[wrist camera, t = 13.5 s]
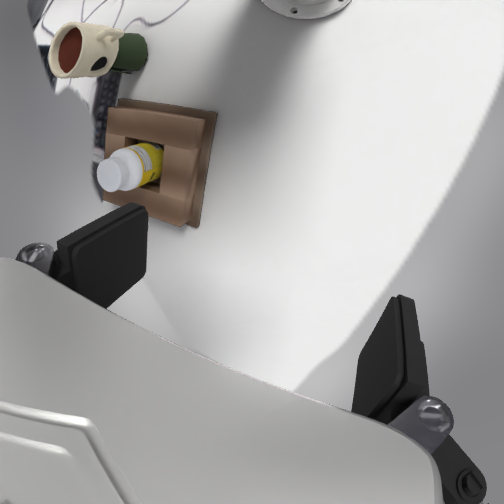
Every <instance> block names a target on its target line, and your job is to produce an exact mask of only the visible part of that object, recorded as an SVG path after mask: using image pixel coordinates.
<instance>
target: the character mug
mask: <svg viewBox="0 0 504 504" xmlns="http://www.w3.org/2000/svg"><path fill="white" fill-rule="evenodd" d="M147 55H148V50H147V44H146V42H145V39H144V37H142V36H141V35H139V34H134V33H125V32H124V31H123V30H120V29H114V28H111V27H109V26H103V25H96V24H88V23H79V22H69V23H67V24H65V25H63V26H62V27H61V28H60V29H59V30H58V32H57V33H56V34H55V36H54V38H53V40H52V42H51V46H50V50H49V66H50V69H51V71H52V73H53V74H54V75H55V76H56V77H58V78H78V77H97V76H101V75H104V74H105V73H107V72H108V71H113V72H119V73H126V74H131V73H128V72H122V71H127V70H133V71H138V70H139V69H140V68H141V67H142V66H143V64H144V63H145V61H146V58H147Z"/></svg>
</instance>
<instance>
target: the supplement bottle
mask: <svg viewBox="0 0 504 504" xmlns="http://www.w3.org/2000/svg"><path fill="white" fill-rule="evenodd" d="M163 154H164V146H163V145H162V144H159V143H154V142H150V141H148V142H144V143H140V144H136V145H132V146H129V147H125V148H121V149H119V150H116V151H115V152H113V153H112V155H111V156H110V157H109V158H108V159H105V160H103V161H102V162H101V163H100V164H99V166H98V168H97V178H98V182H99V184H100V185H101V187H102V188H103V189H104V190H106V191H108V192H114V191H117V190H122V191H129V190H132V189H135V188H137V187H139V186H141V185H144V184H146V183H148V182H150V181H153V180H155V179H157V178H159V177H161V172H162V163H163Z"/></svg>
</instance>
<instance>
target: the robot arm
mask: <svg viewBox="0 0 504 504" xmlns="http://www.w3.org/2000/svg"><path fill="white" fill-rule="evenodd" d="M261 1H262V2H263V3H264V4H265V5H266V6H267V7H268V8H270V9H271V10H273V11H275V12H276V13H278V14H281V15H284V16H286V17H291V18H296V19H316V18H321V17H325V16H328V15H331V14H333V13H335V12H337V11H339V10H340V9H342V8H343V7H345V6H346V5H347V4H348V3H349V2H350V1H351V0H343V2H339V0H261ZM294 11H297V13H296V14H294ZM147 232H148V212H147V211H146V208H145V207H144V206H142V205H139V204H137V203H134V202H130V203H128V204H126V205H124V206H122V207H120V208H118V209H116V210H114V211H112V212H110V213H108V214H106V215H104V216H102V217H100V218H98V219H97V220H95V221H93V222H91V223H89V224H87V225H85V226H83V227H82V228H80V229H78V230H76V231H74V232H73V233H71V234H69V235H67V236H65V237H64V238H62V239H60V240H58V241H57V248H58V250H57V251H55V252H54V249H53V247H52V246H51V245H49V244H47V243H32V244H29V245H27V246H25V247H23V248H22V249H21V250H20V251H19V253H18V254H17V257H16V259H15V260H13V259H7V258H0V504H484V502H483V499H484V497H485V495H486V489H487V487H486V481H485V478H484V476H483V474H482V473H481V471H480V470H479V469H478V468H477V467H476V465H475V464H474V463H473V462H472V461H471V459H470V458H469V457H468V456H467V455H466V454H465V453H464V451H463V450H462V449H461V448H460V447H459V445H458V444H457V443H456V442H455V441H454V439H453V438H452V437H451V436H450V435H449V434H450V432H451V431H452V429H453V427H454V417H453V414H452V412H451V410H450V408H449V407H448V406H447V404H446V403H444V402H443V401H442V400H440V399H439V398H436V397H433V396H430V395H429V384H428V374H427V365H426V357H425V349H424V344H423V342H422V341H421V340H420V333H419V327H418V320H417V314H416V308H415V303H414V300H413V299H411V298H408V297H405V296H402V295H398V296H397V297H391V299H390V300H389V302H388V304H387V306H386V309H385V310H384V312H383V314H382V316H381V317H380V319H379V321H378V323H377V325H376V327H375V328H374V330H373V332H372V334H371V335H370V337H369V339H368V341H367V342H366V344H365V346H364V348H363V349H362V351H361V353H360V355H359V359H358V366H357V374H356V382H355V390H354V397H353V404H352V411H351V412H350V411H347V410H344V409H341V408H338V407H335V406H333V405H330V404H327V403H323V402H320V401H317V400H314V399H311V398H308V397H305V396H303V395H300V394H297V393H294V392H291V391H288V390H286V389H283V388H280V387H277V386H275V385H272V384H269V383H267V382H264V381H261V380H259V379H256V378H254V377H251V376H249V375H246V374H244V373H241V372H239V371H236V370H234V369H231V368H229V367H227V366H224V365H222V364H219V363H217V362H215V361H212V360H210V359H208V358H205V357H203V356H201V355H199V354H196V353H194V352H192V351H190V350H187V349H185V348H183V347H181V346H179V345H177V344H175V343H172V342H170V341H168V340H166V339H164V338H162V337H160V336H158V335H156V334H154V333H152V332H150V331H148V330H146V329H144V328H142V327H140V326H138V325H135V324H134V323H132V322H130V321H128V320H126V319H124V318H122V317H120V316H118V315H116V314H114V313H113V312H111V311H109V310H107V307H109V306H110V305H111V304H112V303H113V302H115V301H116V300H117V299H118V298H119V297H120V296H122V295H123V294H124V293H125V292H126V291H127V290H129V289H130V288H131V287H132V286H133V285H134V284H136V283H137V282H138V281H139V280H140V279H141V278H143V276H144V275H145V272H146V258H147ZM488 504H489V503H488Z"/></svg>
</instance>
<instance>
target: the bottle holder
mask: <svg viewBox="0 0 504 504" xmlns="http://www.w3.org/2000/svg"><path fill="white" fill-rule="evenodd" d="M216 119H217V113H216V112H210V111H205V110H200V109H194V108H188V107H182V106H176V105H169V104H162V103H155V102H147V101H139V100H130V99H118V104H117V107H108V116H107V127H106V140H105V156H104V160H105V159H108V158H109V157H110V156H111V155H112V153H113V152H115V151H116V150H119V149H121V148H125V147H129V146H132V145H136V144H140V143H144V142H148V141H150V142H154V143H159V144H162V145H163V146H164V154H163V163H162V172H161V177H159V178H157V179H155V180H153V181H150V182H148V183H146V184H144V185H141V186H139V187H137V188H135V189H132V190H129V191H122V190H117V191H114V192H108V191H106V190H104V189H103V200H105V201H108V202H110V203H113V204H116V205H119V206H124V205H126V204H128V203H130V202H134V203H137V204H139V205H142V206H144V207H145V208H146V211H147V212H148V216H150V217H153V218H156V219H159V220H162V221H165V222H167V223H170V224H173V225H176V226H179V227H181V226H183V225H184V224H187V225H190V226H193V227H195V228H197V227H199V224H200V217H201V210H202V203H203V197H204V190H205V184H206V177H207V171H208V165H209V159H210V153H211V147H212V141H213V135H214V130H215V124H216Z"/></svg>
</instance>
